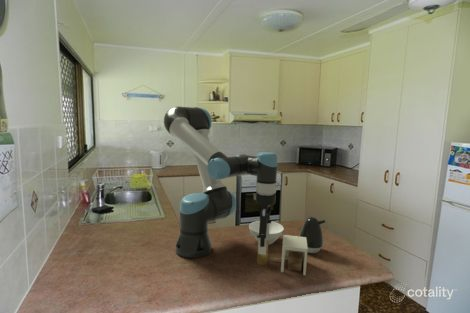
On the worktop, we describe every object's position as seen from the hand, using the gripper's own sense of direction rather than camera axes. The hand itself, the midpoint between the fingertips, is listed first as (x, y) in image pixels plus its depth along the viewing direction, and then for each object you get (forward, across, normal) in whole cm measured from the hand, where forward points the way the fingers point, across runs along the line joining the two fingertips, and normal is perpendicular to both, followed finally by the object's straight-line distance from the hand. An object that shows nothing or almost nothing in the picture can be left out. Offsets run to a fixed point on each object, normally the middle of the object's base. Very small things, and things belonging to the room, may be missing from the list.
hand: (263, 246), depth 110 cm
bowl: (+7, +20, +1) cm, 21 cm away
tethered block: (+7, 0, -6) cm, 9 cm away
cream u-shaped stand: (+7, 0, -12) cm, 14 cm away
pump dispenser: (+7, +16, -19) cm, 26 cm away
